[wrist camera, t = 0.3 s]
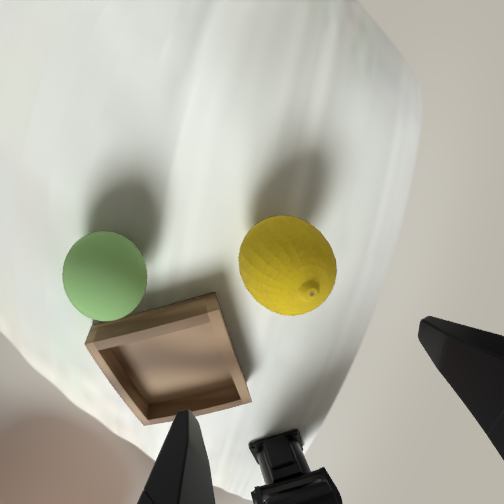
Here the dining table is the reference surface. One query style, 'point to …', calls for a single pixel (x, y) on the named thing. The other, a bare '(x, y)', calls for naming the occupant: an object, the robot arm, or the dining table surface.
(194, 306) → the walnut tray
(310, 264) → the lemon
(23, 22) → the dining table surface
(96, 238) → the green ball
